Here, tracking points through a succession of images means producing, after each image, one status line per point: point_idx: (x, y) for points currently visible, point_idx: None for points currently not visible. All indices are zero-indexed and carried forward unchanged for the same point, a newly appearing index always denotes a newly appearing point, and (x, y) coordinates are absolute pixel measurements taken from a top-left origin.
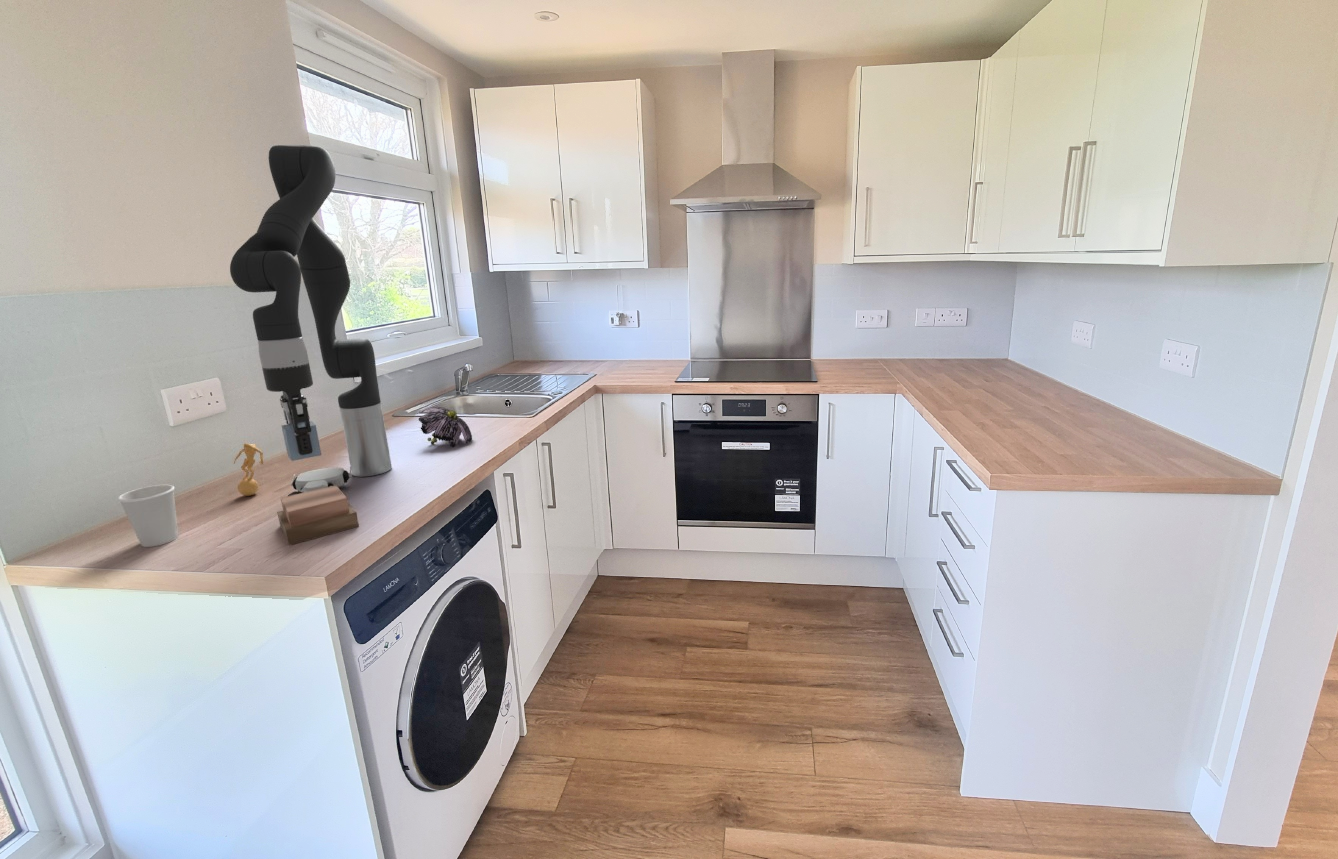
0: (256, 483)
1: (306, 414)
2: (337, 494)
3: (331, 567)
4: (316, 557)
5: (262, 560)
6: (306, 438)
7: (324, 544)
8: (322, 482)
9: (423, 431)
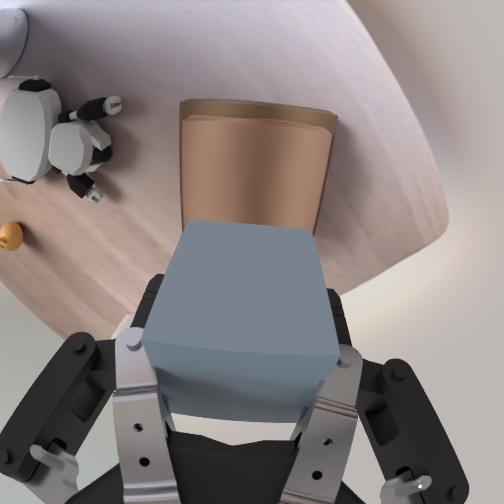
0: (8, 228)
1: (447, 450)
2: (276, 140)
3: (442, 212)
4: (396, 214)
5: (332, 266)
6: (348, 342)
7: (359, 188)
8: (65, 135)
9: None
